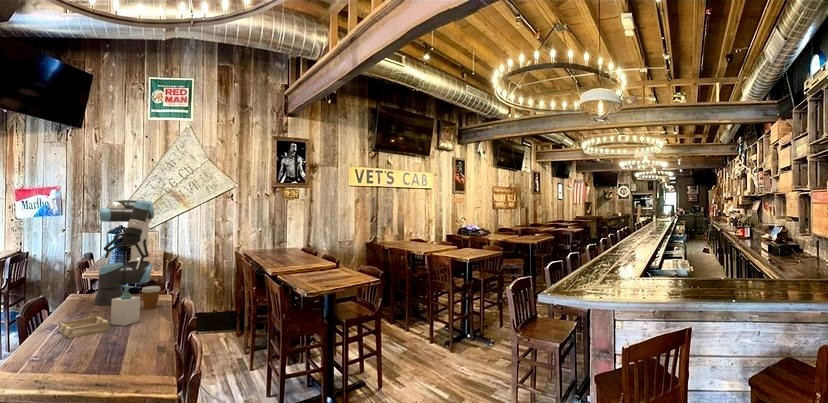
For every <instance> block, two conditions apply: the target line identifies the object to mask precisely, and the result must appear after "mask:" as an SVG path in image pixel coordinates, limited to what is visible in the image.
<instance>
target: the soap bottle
mask: <svg viewBox="0 0 828 403" xmlns="http://www.w3.org/2000/svg"><path fill="white" fill-rule="evenodd" d="M122 288H124V291H123V295H122V296H121V297H118V298H114V299H112V304H111V306H110V324H111V325H115V326H123V327H124V326H128V325H131V324H134V323H137V322H140V311H141V310H140V309H141V296H137V295H136V296H135V295H132V294H131V293H130V292H129V290H130V289H131V288H132V289H133V288H134V289H135V286H132V285H127V284H123V285H122Z"/></svg>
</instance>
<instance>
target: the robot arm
mask: <svg viewBox="0 0 828 403" xmlns="http://www.w3.org/2000/svg"><path fill="white" fill-rule="evenodd" d="M154 218H155V210H154V204H153V202H152V201H150V200H132V199H131V200H129V199H124V200H123V199H121V200H117V201H112V202H110V203H109V204H107V206H106V208H105V207H102V208H100V209H99V221H100V222H102V223H103V222H106V223H111V222H113V223H115V222H116V223H117V222H118V223H119V222H122V223H124V222H125V223H127V224H126V225H127V227H126V229H125V232H124V234H123V235H121V234H118V233H117V234H116V235H115V237H114V238H112V240H110V242H108V243H107V244H106V245H105V246H104V247H103V251H105V252H106V253H105V256H104V258H105V259H106V261H105V263H104V265H101V266H100V267H99V270H98V274H97V275H98V283H97V292H96V294H95V296H94V299H93V305H94V306H110V305H111V304H112V299H114V298H118V297H121V296H122V295H123V293H124V291H123V285H130V284H131V285H133V284H134V285H135V284H145V283H148V282H150V278H151V274H152V269H153V268H152V267H153V264H151V262H150V260H149V259H148V258H149V251H148V244H149V243H148V240H149V223H151V222H152V219H154ZM120 239H122V240H121V241H120V242H118V243H116V242H117V240H120ZM115 243H116V244H115ZM113 244H115V245H113ZM124 244H125V245H126V246H131V247H130V248H131V249H130V260H129V261H127V264H125V265H124V263H123V262H116V263H115V262H114V263H109V260H110V258H111V254H112V251H114V250H116V249H117V248H119V247H121V246H122V245H124ZM112 245H113V246H112ZM108 263H109V264H108Z"/></svg>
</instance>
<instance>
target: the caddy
mask: <svg viewBox="0 0 828 403" xmlns="http://www.w3.org/2000/svg"><path fill="white" fill-rule="evenodd" d="M57 330H58V333H61V335H64V336H65V337H67V339H68V338H69V339H73V338H77V337H83V336H87V335H92V334H97V333H102V332H107V331H110V321H109V320H107V319H104V318H102V317H100V316H98V315H97V316H90V317H86V318H81V319H80V318H79V319H78V318H77V319H75V320H74V319H73V320H68V321H67V320H66V321H63V322H59V323H58V329H57Z"/></svg>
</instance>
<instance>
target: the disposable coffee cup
mask: <svg viewBox="0 0 828 403" xmlns="http://www.w3.org/2000/svg"><path fill="white" fill-rule="evenodd" d="M141 292H142V299H143V300H142V301H143V302H142V303H143V309H144V308H145V310H151V309H150V308H153V309H156V308H157V307H158V303H159V297H160V292H161V286H158V285H149V286H144V287H142V289H141ZM155 307H156V308H155Z"/></svg>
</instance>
